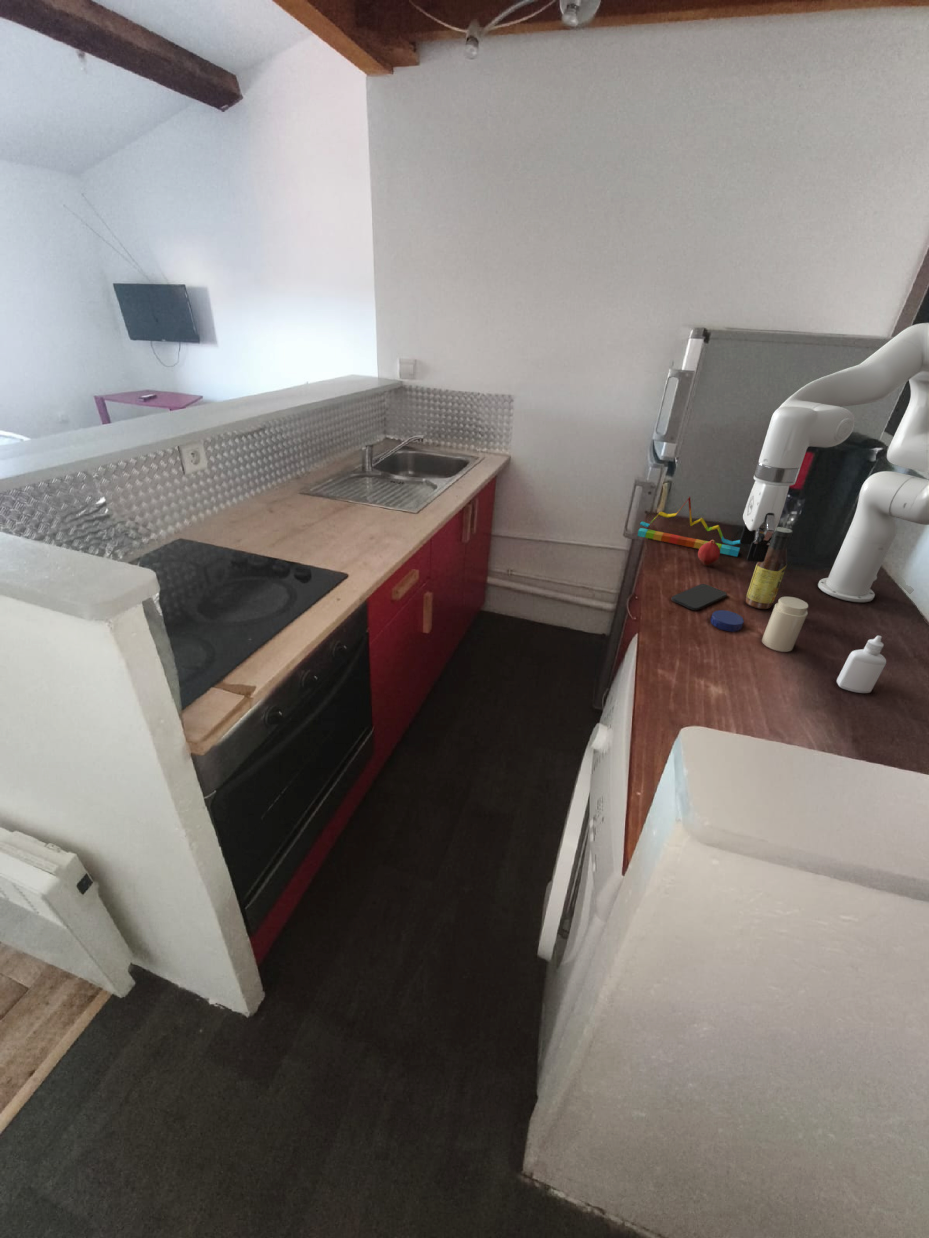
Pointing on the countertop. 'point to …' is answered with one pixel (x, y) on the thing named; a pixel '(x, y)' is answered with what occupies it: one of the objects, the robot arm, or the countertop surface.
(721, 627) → the jar lid
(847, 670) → the eye dropper bottle
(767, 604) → the sauce bottle
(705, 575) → the countertop surface
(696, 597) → the phone
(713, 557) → the onion
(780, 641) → the mayonnaise jar
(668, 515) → the chart
